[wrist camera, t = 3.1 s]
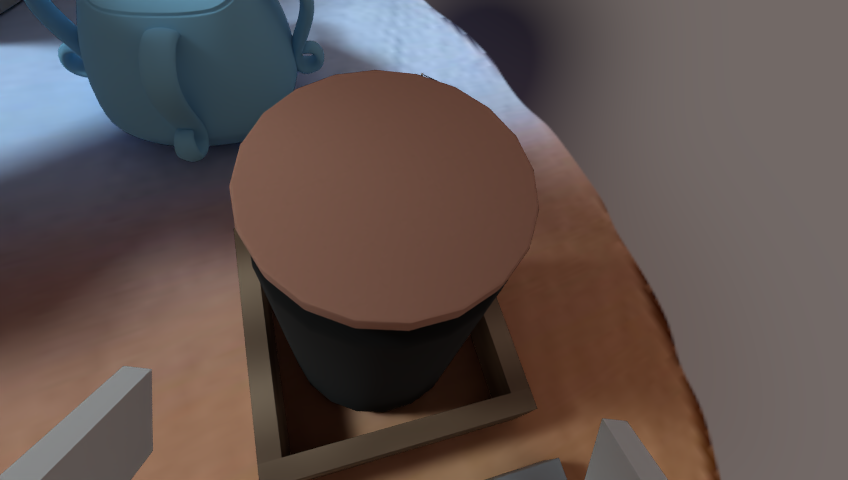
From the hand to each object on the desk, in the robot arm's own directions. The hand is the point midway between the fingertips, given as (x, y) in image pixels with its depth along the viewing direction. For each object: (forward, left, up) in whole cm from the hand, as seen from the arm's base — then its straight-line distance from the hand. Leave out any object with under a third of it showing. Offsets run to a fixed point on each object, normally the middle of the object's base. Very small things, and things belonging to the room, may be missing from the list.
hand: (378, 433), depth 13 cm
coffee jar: (-8, +2, -17) cm, 18 cm away
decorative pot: (-32, -7, -17) cm, 36 cm away
